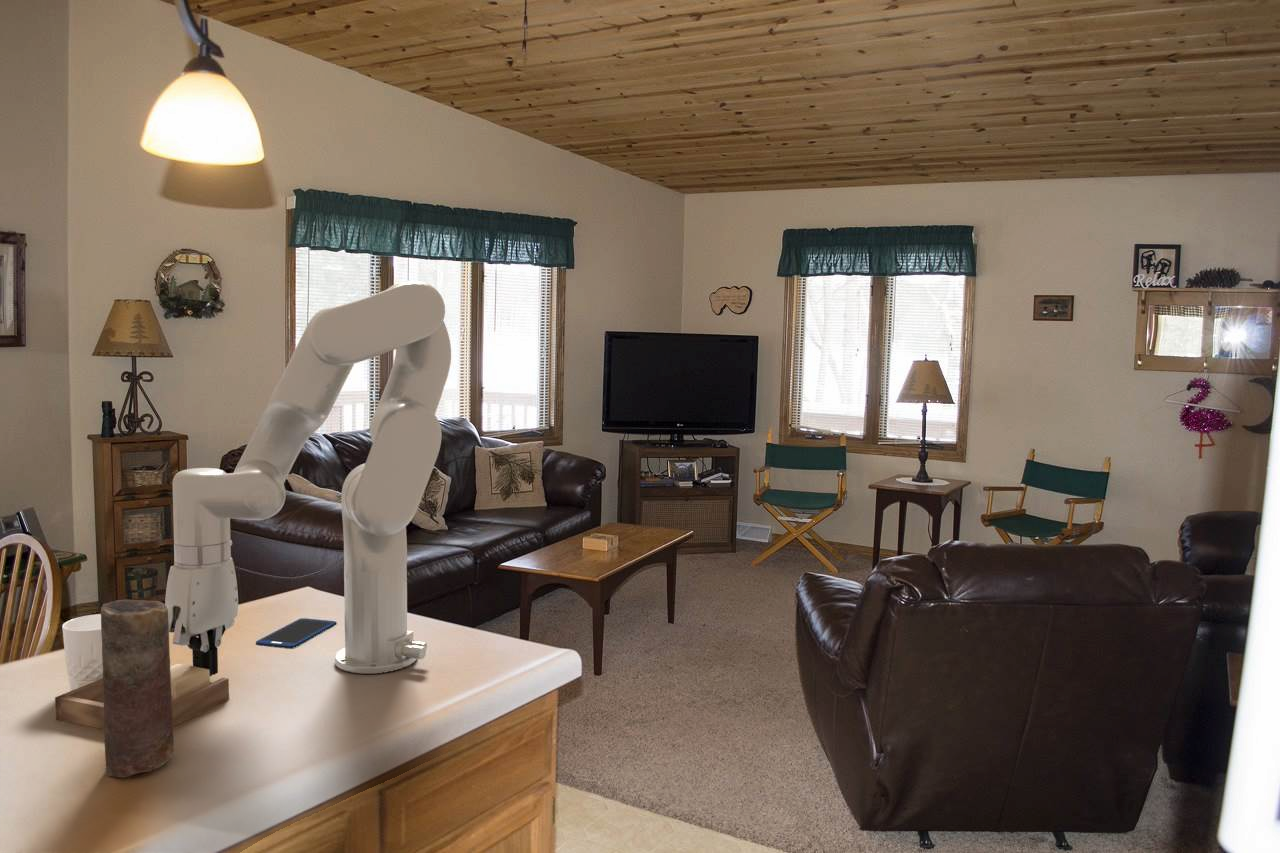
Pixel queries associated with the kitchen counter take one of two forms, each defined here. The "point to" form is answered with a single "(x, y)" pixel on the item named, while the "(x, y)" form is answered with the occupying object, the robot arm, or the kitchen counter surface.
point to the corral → (89, 703)
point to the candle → (136, 686)
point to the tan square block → (187, 679)
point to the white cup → (83, 650)
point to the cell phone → (296, 633)
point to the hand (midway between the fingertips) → (205, 673)
